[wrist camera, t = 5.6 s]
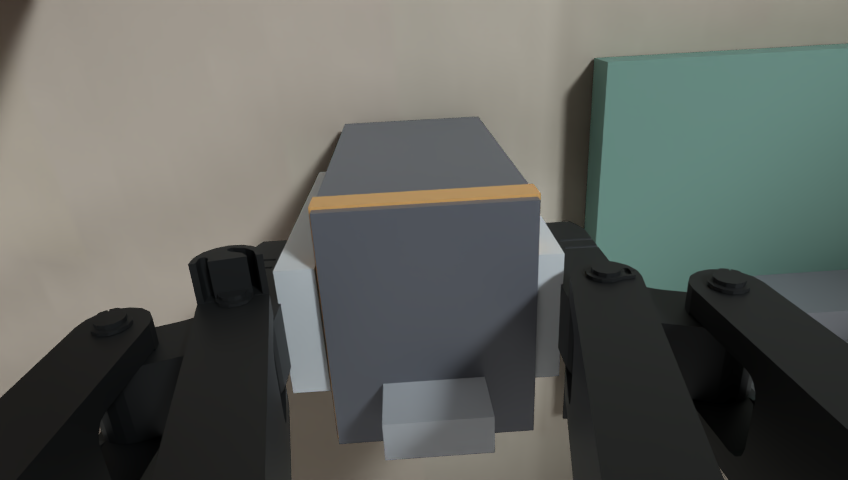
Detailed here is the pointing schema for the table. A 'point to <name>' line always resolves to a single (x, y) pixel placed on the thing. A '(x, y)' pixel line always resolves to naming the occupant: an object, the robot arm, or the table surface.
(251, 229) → the table surface
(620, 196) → the board
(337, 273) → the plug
